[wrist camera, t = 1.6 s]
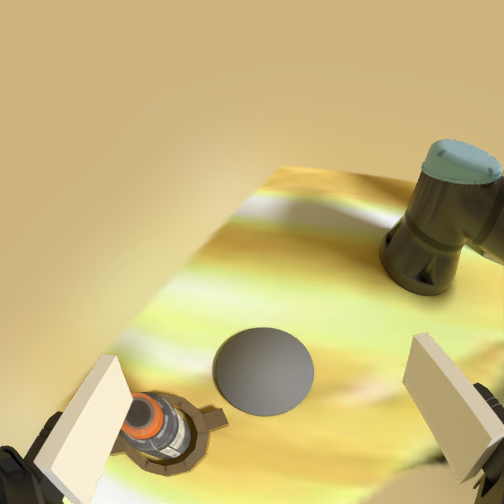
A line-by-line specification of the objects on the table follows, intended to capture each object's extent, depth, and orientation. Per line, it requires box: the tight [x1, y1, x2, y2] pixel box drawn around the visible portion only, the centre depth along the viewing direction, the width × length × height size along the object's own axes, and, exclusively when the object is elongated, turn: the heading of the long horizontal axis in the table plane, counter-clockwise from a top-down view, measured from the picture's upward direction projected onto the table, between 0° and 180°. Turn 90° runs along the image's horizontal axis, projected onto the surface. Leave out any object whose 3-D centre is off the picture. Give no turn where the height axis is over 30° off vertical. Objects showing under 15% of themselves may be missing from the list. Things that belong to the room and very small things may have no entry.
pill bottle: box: [119, 392, 191, 459], centre depth 25 cm, size 6×6×11 cm
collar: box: [110, 393, 229, 477], centre depth 28 cm, size 15×10×1 cm
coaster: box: [216, 328, 314, 416], centre depth 35 cm, size 12×12×1 cm
